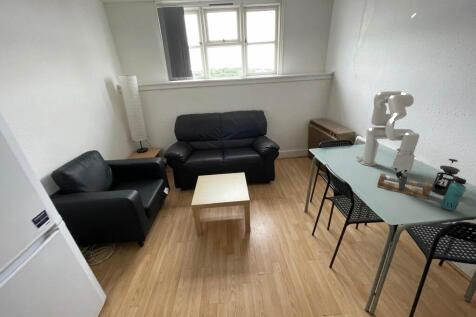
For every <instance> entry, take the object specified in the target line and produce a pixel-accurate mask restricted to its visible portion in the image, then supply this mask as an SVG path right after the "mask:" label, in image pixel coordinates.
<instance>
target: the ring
mask: <svg viewBox="0 0 476 317" xmlns="http://www.w3.org/2000/svg"><path fill="white" fill-rule="evenodd" d="M407 175H408V174H407V173H402V176H401V177H400V179H401V182H400V183H398V184H399V189H402V190H404V187H405V186H406V181H407V180H408V176H407Z"/></svg>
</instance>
